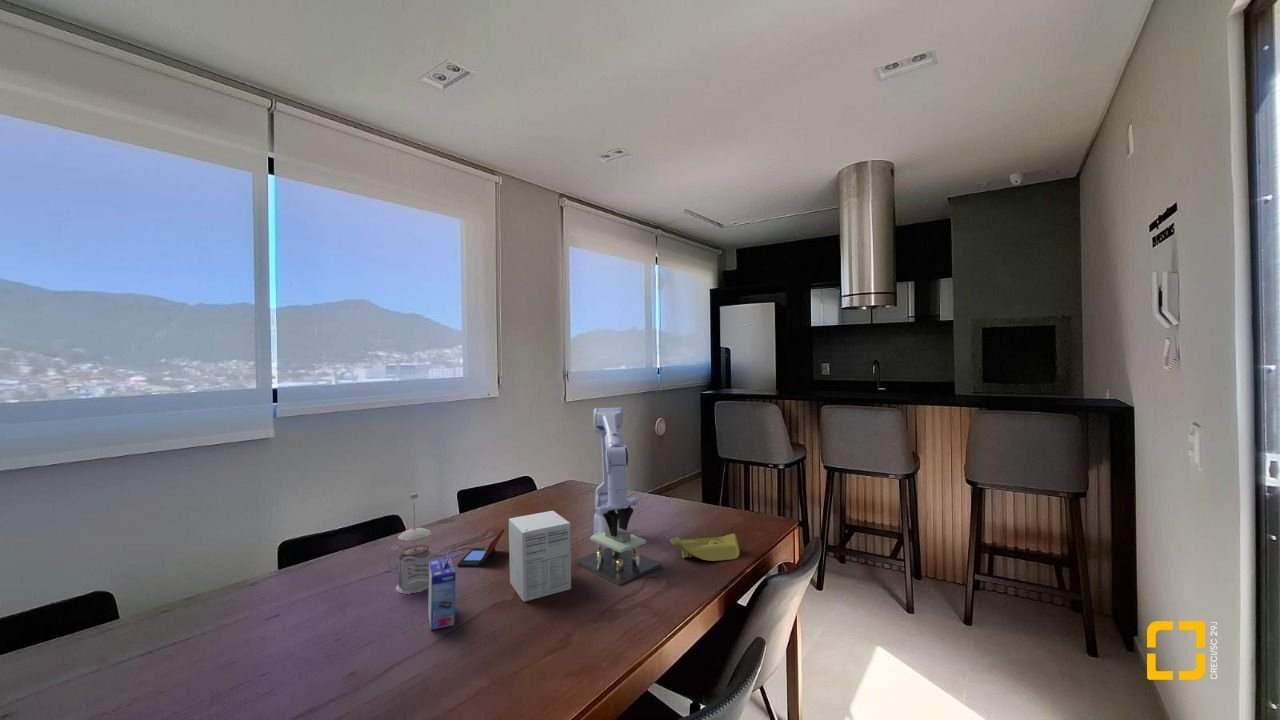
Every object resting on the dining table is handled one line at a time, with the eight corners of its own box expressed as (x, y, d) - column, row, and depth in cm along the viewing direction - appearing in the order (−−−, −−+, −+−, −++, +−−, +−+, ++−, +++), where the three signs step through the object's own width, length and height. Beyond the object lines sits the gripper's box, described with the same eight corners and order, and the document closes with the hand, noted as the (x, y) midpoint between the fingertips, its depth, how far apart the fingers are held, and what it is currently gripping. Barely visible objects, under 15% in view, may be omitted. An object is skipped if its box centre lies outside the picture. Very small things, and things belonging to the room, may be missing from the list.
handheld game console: (472, 551, 151) (472, 528, 151) (505, 551, 150) (505, 528, 151) (455, 568, 138) (455, 543, 138) (491, 568, 138) (491, 543, 138)
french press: (441, 584, 127) (440, 492, 128) (395, 601, 119) (394, 502, 119) (426, 574, 134) (424, 486, 134) (382, 588, 126) (380, 495, 126)
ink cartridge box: (457, 625, 107) (456, 561, 107) (430, 632, 105) (429, 566, 105) (452, 606, 116) (451, 547, 116) (428, 611, 114) (427, 551, 114)
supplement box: (572, 589, 124) (571, 522, 124) (523, 603, 117) (522, 532, 117) (554, 570, 135) (553, 509, 135) (508, 582, 128) (507, 518, 128)
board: (589, 539, 140) (589, 528, 140) (615, 531, 147) (615, 520, 147) (620, 552, 130) (620, 540, 130) (646, 542, 137) (646, 531, 137)
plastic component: (721, 536, 153) (737, 532, 145) (725, 561, 150) (741, 558, 141) (665, 540, 146) (678, 536, 138) (668, 566, 143) (681, 563, 135)
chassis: (575, 563, 140) (575, 546, 140) (616, 548, 151) (616, 532, 151) (619, 585, 125) (618, 566, 125) (661, 567, 136) (661, 549, 136)
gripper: (606, 495, 131) (607, 544, 130) (644, 485, 140) (645, 531, 140) (591, 490, 136) (592, 537, 136) (629, 481, 146) (629, 525, 146)
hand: (618, 534), depth 138 cm, fingers closed on board, 3 cm apart
